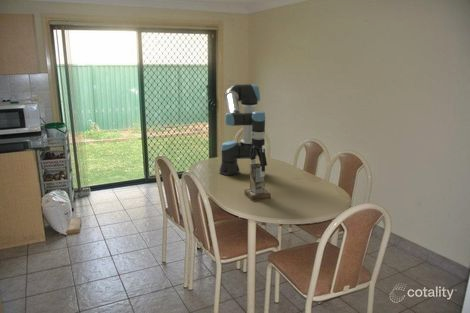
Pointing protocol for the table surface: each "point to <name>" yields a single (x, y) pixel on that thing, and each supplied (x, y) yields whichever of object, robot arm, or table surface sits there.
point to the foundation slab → (257, 195)
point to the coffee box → (256, 179)
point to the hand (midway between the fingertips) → (257, 173)
